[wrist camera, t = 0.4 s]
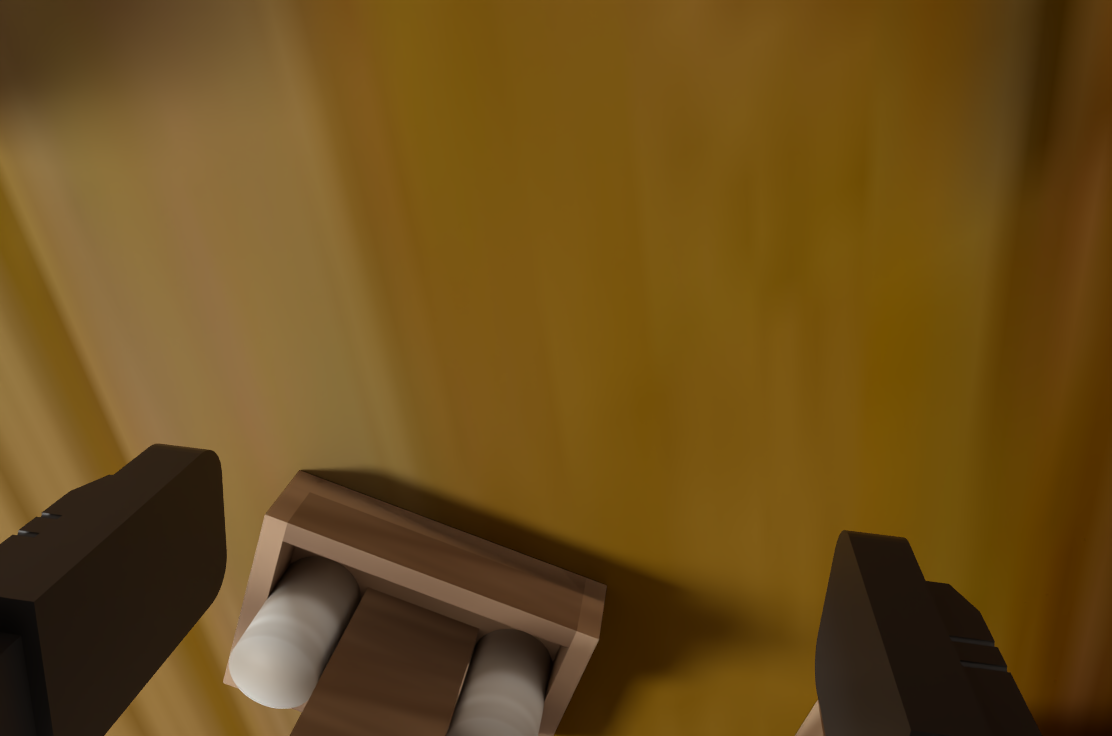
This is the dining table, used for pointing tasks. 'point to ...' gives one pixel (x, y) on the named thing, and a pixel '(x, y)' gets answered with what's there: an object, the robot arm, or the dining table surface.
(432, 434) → the dining table surface
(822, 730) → the stool
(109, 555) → the robot arm
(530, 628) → the caddy
